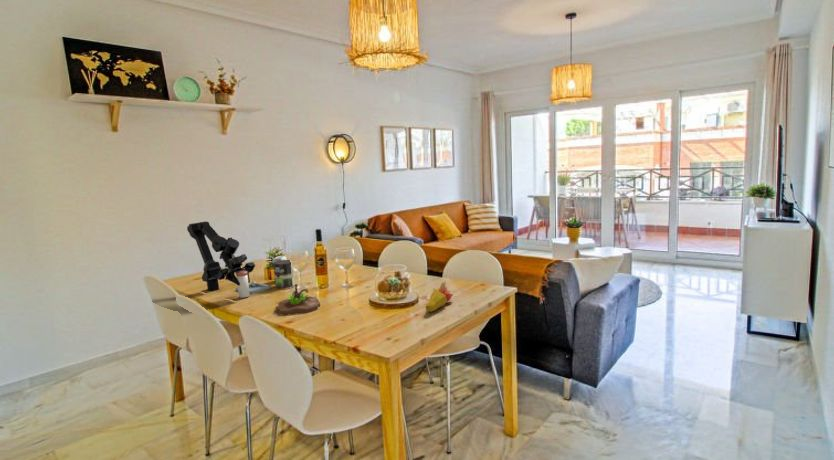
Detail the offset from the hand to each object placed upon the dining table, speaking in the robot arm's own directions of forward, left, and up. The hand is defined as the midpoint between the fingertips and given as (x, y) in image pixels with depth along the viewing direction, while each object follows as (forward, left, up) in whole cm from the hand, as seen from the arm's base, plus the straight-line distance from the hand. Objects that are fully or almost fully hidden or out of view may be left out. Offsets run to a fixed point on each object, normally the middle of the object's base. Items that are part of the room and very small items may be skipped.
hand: (244, 283), depth 232 cm
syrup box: (-11, +30, -8) cm, 33 cm away
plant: (+35, +5, -9) cm, 36 cm away
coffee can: (0, +24, -8) cm, 25 cm away
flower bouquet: (+91, +38, -8) cm, 99 cm away
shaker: (-1, 0, -7) cm, 7 cm away
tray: (-10, +11, -8) cm, 17 cm away
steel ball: (-15, +15, -7) cm, 22 cm away
